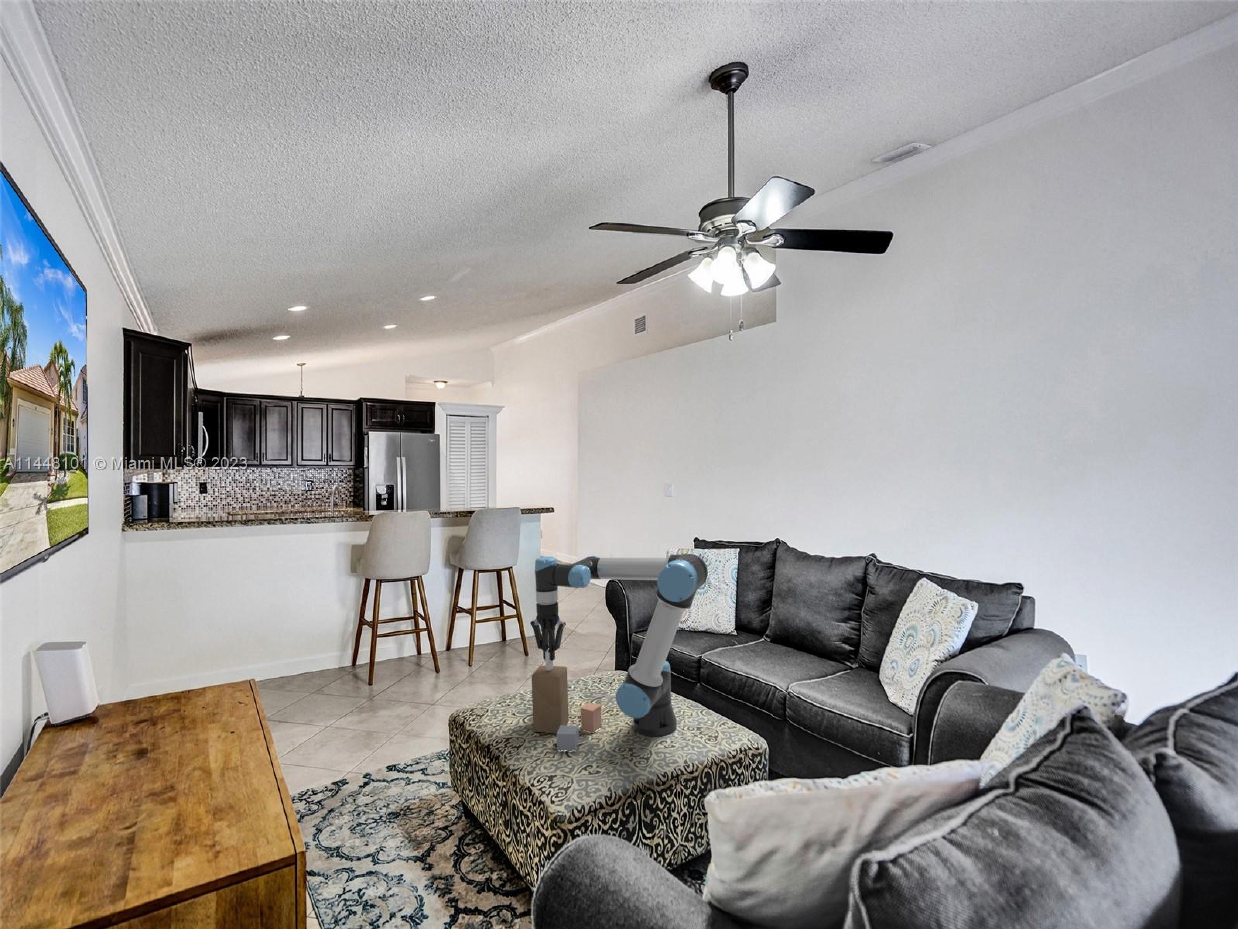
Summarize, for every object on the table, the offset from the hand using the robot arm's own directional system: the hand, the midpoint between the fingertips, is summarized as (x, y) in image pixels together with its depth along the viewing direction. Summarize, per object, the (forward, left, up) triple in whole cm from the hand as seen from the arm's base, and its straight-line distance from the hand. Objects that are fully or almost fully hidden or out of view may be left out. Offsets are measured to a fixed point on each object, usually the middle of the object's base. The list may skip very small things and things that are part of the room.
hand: (549, 669), depth 220 cm
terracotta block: (-14, -3, -21) cm, 25 cm away
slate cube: (-12, +11, -21) cm, 26 cm away
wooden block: (0, 0, -21) cm, 21 cm away
